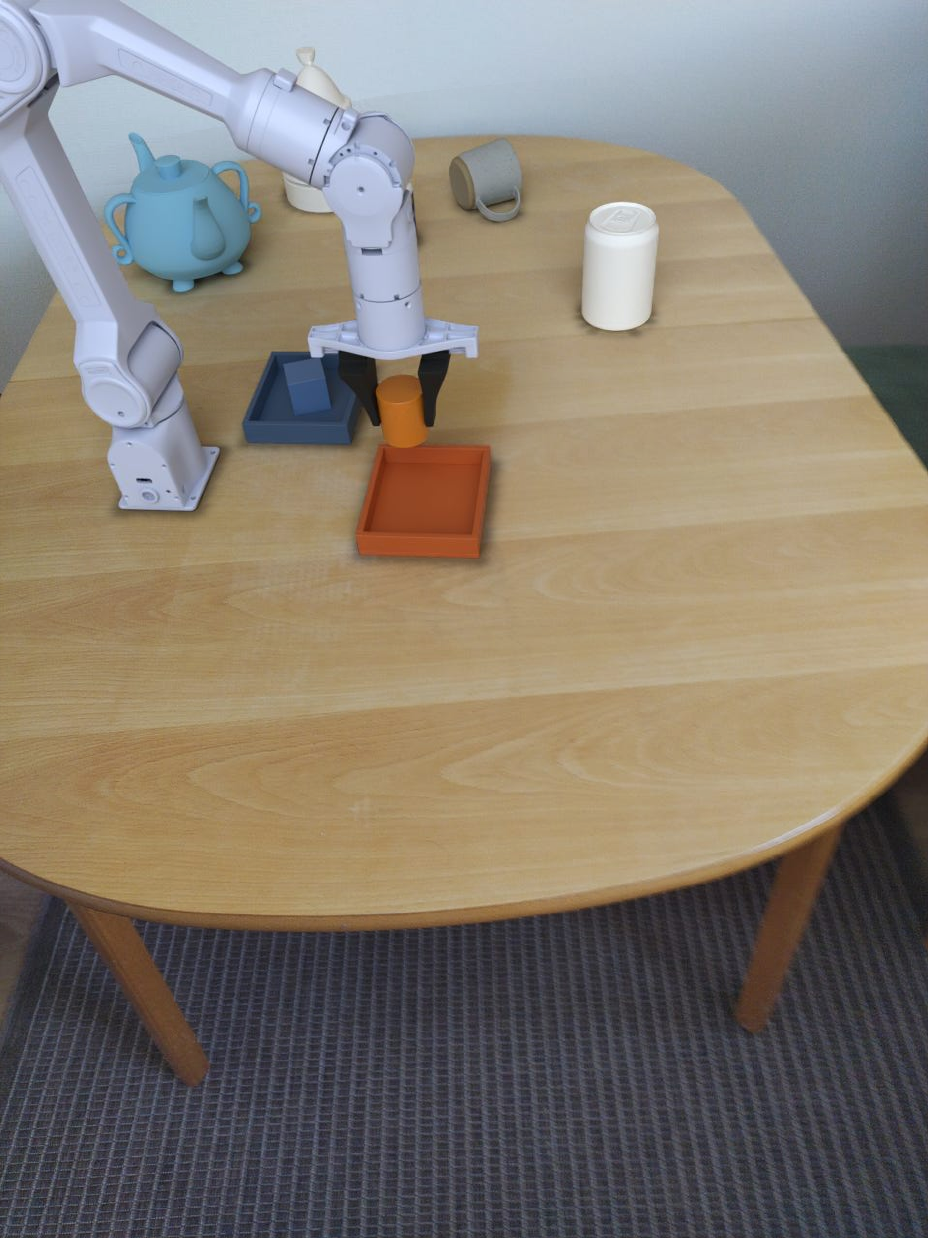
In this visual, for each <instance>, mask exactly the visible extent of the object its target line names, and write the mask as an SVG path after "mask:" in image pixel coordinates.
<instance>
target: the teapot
mask: <svg viewBox="0 0 928 1238" xmlns="http://www.w3.org/2000/svg"><path fill="white" fill-rule="evenodd" d="M128 139H129V142H130V143H131V145H132V148H133V150H134V152H135V154H136V159H137V163H138V169H139V173H137V175H136V176H135V178H133V179H134V180H133V181H132V184H131V186H130V190H129V192H121V193H117V194H115V195H113V196H112V197H110V198H109V199H108V200H107V202H106V203H105V205H104V208H103V215H104V220H105V223H106V224H107V227H108V228H109V230H110V232H111V233H112V235H113V236H114V237H115V239H116V240H117V242H118V243H116V244H115V245H113V246H112V248H111V250H112V252H113V255H114V257H115V259H116V261H117V263H118V265H119V266H125V267H126V266H130V265H132V264H133V263H135V264H136V265H137V266H138V267H140V268H142V269H143V270H144V271H146V272H148V273H150V274H151V275H153V276H155V277H157V278H160V279H164V280H169V281H172V290H173V291H174V292H179V293H182V292H187V291H190V290H192V289H194V287H195V280H197V279H202V278H206V277H210V276H213V275H215V274H218V273H220V272H221V273H223V274H225V275H235V274H238V273H240V272H241V271H242V270H243V269H244V266H243V265H242V264H241V262H239V260H240V258H241V257H242V256H243V254H244V252H245V250H246V249H247V247H248V245H249V243H250V241H251V236H252V227H251V225H253V224H256V223H257V222H258V221H259V220H260V219H261V218H262V214H263V213H262V208H261V206H260V205H259V203H258V202H256V201H253V200H251V201H250V198H249V197H250V183H249V182H250V181H249V177H248V174H247V172H246V170H245V168H244V167H243V166H242V165H240V164H239V163H237V162H235V161H233V160H220V161H218V162H216V163H215V164H213V165H212V166H211V167H209V166H208V165H207V164H205V163H204V162H201V161H199V160H195V159H181V157H180V156H179V155H174V154H165V155H162V156H160V157H158V158H155V156H154V155H153V153H152V152H151V150H150V148H149V145H148V144H147V143H146V141H145V139H144V138H143V137H142V136H141V135H140V134H139V133H137V132H134V131H133V132H129V133H128ZM228 171H235V172H236V173H237V176H238V180H239V198H238V196H237V195H236V194H235V192H234V191H233V190H232V188H230V186H229V185H228V184H227V183H226V182H225V181H224V180H223V179H222V177H220V176H219V175H220V174H222V173H224V172H228ZM124 204H126V205H125V211H124V220H123V229H124V233H122V231H121V229H120V228H119V226H118V225H117V223H116V220H115V217H114V211H115V210H116V209H117V208H119V206H121V205H124ZM252 209H253V210H254V211H253V212H252V213H251V214H250V213H249V210H252ZM120 251H124V254H125V255H122V256H120V255H119V252H120Z"/></svg>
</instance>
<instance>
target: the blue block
mask: <svg viewBox="0 0 928 1238" xmlns="http://www.w3.org/2000/svg"><path fill="white" fill-rule="evenodd" d="M283 366H284V371H285V375H286V380H287V385H288V389H289V393H290V397H291V401H292V406H293V410H294V414H295V416H297V415H302V414H307V413H312V412H317V411H323V410H328V409H331V403H330V398H329V394H328V389H327V384H326V379H325V375H324V371H323V367H322V363H321V360H320V358H313V359H308V360H302V361H297V362H292V363H287V364H283Z"/></svg>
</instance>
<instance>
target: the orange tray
mask: <svg viewBox="0 0 928 1238" xmlns="http://www.w3.org/2000/svg"><path fill="white" fill-rule="evenodd" d="M491 449H492V448H491V445H476V444H475V445H469V444H468V445H467V444H419V445H417V446H414V447H410V448H397V447H393V446H391V445H389V444H388V443H379V444H378V447H377V451H376V454H375V458H374V463H373V466H372V470H371V475H370V478H369V483H368V486H367V490H366V493H365V498H364V501H363V506H362V509H361V514H360V517H359V521H358V525H357V529H356V532H355V533H356V534H355V539H356V545H357V547H358V548H357V549H358V553H359V555H360V556H389V557H390V556H392V557H418V558H419V557H424V558H451V559H454V558H455V559H456V558H457V559H480V556H481V555H480V554H481V547H482V541H483V533H484V525H485V524H484V523H485V516H486V510H487V501H488V493H489V487H490V486H489V485H490V479H491V470H492V452H491V451H492V450H491Z"/></svg>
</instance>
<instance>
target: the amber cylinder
mask: <svg viewBox="0 0 928 1238" xmlns="http://www.w3.org/2000/svg"><path fill="white" fill-rule="evenodd" d="M376 397H377V403H378V410H379V416H380V422H381V423H380V428H381V434H382V438H383V441H384V442H385V444H389V445H391V446H393V447H397V448H410V447H414V446H417V445H422V444H423V443H424V442H425V441H426V440H427V439H428V438H429V435H430V427H426V425H425V420H424V400H423V394H422V389H421V385H420V381H419V377H418V376H414V375H411V374H395V375H391V376H388V377H386V378H384V379H383V380H382V381H380V382H378V386H377V388H376Z"/></svg>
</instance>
